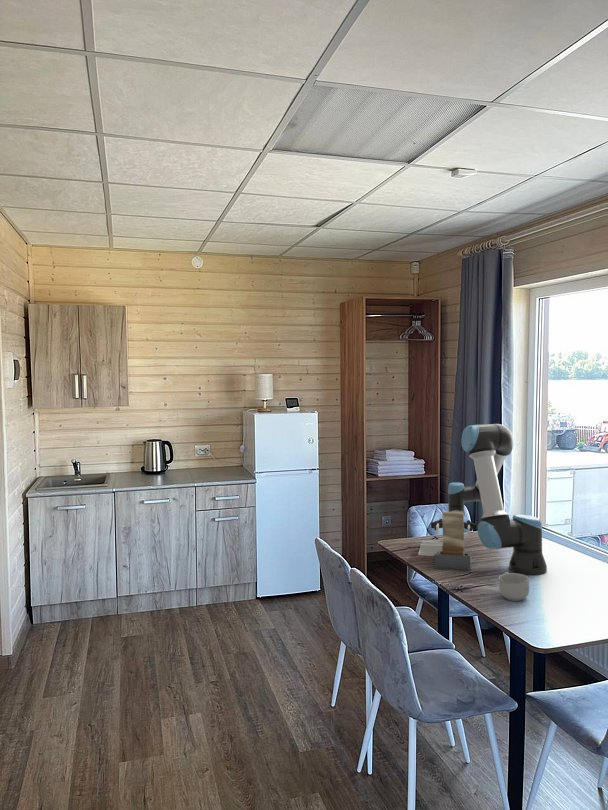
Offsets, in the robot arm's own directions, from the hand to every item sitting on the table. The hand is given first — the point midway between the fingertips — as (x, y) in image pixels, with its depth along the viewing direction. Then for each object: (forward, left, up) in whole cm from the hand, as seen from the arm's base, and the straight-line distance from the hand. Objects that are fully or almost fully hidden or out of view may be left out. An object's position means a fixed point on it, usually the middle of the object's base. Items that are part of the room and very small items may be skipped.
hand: (452, 530), depth 266 cm
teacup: (-33, +22, -16) cm, 43 cm away
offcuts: (-1, +4, -15) cm, 15 cm away
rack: (-1, +2, -16) cm, 16 cm away
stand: (+14, -10, -16) cm, 23 cm away
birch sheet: (+1, -2, -15) cm, 15 cm away
